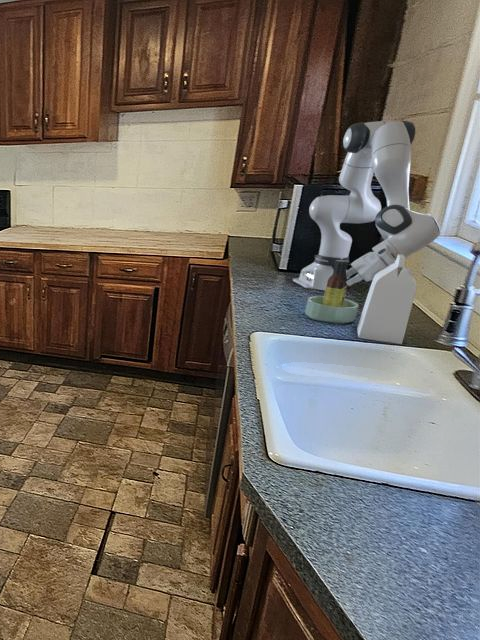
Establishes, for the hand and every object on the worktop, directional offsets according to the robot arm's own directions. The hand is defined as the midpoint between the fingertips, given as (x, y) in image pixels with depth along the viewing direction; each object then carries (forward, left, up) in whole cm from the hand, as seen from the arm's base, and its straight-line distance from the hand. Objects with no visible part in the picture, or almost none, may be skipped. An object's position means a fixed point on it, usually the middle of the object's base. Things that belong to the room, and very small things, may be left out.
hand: (344, 281), depth 184 cm
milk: (+19, +1, -14) cm, 24 cm away
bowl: (-1, -2, -14) cm, 14 cm away
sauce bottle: (-1, -2, -13) cm, 13 cm away
